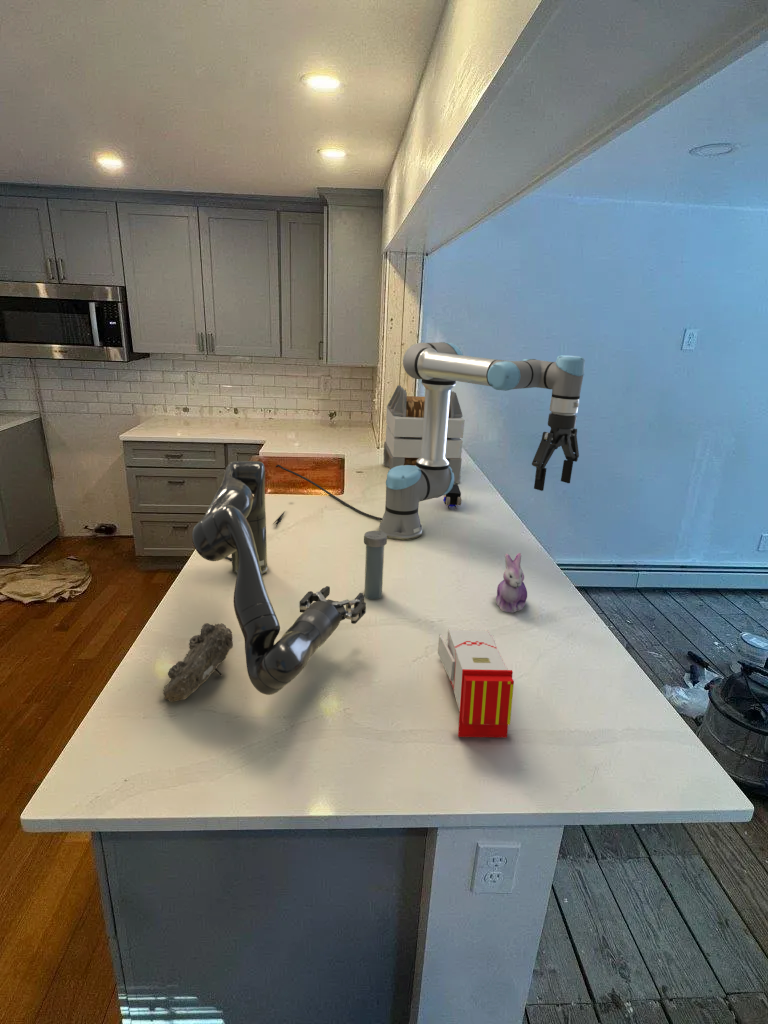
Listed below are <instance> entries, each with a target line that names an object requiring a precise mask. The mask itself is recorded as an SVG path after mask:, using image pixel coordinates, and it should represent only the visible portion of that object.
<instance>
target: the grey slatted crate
mask: <svg viewBox="0 0 768 1024" xmlns="http://www.w3.org/2000/svg"><path fill="white" fill-rule="evenodd" d="M407 394H408V393H407V390H406V389H404V388H403V387H402V385H399V384H398V385H397V386H396V388H395V390H394V392H393V394H392V395H391V398H390V400H389V402H388V404H387V405H386V413H385V414H386V415H385V423H386V428H385V438H384V442H383V466H384V467H388V468H389V470H390V469H392V468H394V467H396V466H401V465H404V466H405V465H413V466H416V461H417V459H418V458H420V457H421V449H422V434H423V419H424V404H425V396H415V395H414V396H413V395H412V396H411V395H407ZM464 429H465V419H464V418H463V411H462V408H461V405H460V402H459V398H458V395H457V392H455V391H453V390H451V392H450V404H449V416H448V428H447V441H446V453H445V458H446V459H447V461H448V462H449V466H450V467H451V469H452V473H454V484H459V483H461V472H462V461H463V460H462V453H463V442H464V441H463V440H462V439H463V438H464V431H465V430H464Z"/></svg>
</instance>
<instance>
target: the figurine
mask: <svg viewBox="0 0 768 1024" xmlns="http://www.w3.org/2000/svg"><path fill="white" fill-rule="evenodd" d="M511 557H512V556H511V555H509V553H505V555H504V559H505V560H504V561H505V569H504V571H503V580H502V581H500V582H499V583H498V585H497V589H496V597H495V603H496V606H497V607H499V609H500V610H501V611H502V612H505V613H512V614H513V613H517V612H519V611H522V610H523V609H524V608H525V605H526V602H527V599H528V590H527V586H526V584H525V582H524V580H525V574H524V571H523V569H522V567H521V562H522V561H521V560H522V553H521V552H518V553H516V554H515V557H514V559H512V558H511Z"/></svg>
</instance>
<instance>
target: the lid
mask: <svg viewBox="0 0 768 1024" xmlns="http://www.w3.org/2000/svg"><path fill="white" fill-rule="evenodd" d="M363 543H364V545H365V546H366V545H367V546H370V547H382V546H384V547H385V546H386V545H387V543H388V538H387V535H386V533H384V532H381V531H379V530H369V531H366V532H365V533H364V535H363Z"/></svg>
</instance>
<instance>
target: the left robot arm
mask: <svg viewBox="0 0 768 1024" xmlns="http://www.w3.org/2000/svg"><path fill="white" fill-rule="evenodd" d="M266 515H267V513H266V467H265V464H264V463H263V462H262V461H259V460H233V461H230V462H229V463H228V464H227V465H226V468H225V470H224V475H223V478H222V480H221V483H220V486H219V487H218V489H217V490H216V491H215V494H214V495H213V497H212V500H211V502H210V504H209V506H208V508H207V510H206V512H205V513H204V515H203V516H202V517H201V519H199V521H198V522H197V523H196V524H194V526H193V528H192V532H191V539H192V544H193V547H194V549H195V551H196V552H197V553H198V555H199V556H201V558H203V559H204V560H206V561H209V562H219V561H221V560H224V559H226V560H229V561H231V569H232V572H233V573H235V575H236V579H235V584H234V591H233V601H232V602H233V609H234V613H235V618H236V619H237V622H238V625H239V628H240V631H241V633H242V636H243V638H244V655H245V663H246V671H247V676H248V678H249V681H250V683H251V684H252V686H253V688H254V689H255V690H256V691H257V692H258V693H260V694H263V695H265V696H272V695H275V694H277V693H279V692H280V691H281V690H283V689H284V688H285V687H286V686H287V685H288V684H290V683H291V682H292V681H293V680H294V679H296V677H297V676H299V675H300V673H301V672H302V671H304V669H305V667H306V666H307V665H308V663H309V660H310V658H311V657H312V656H313V655H314V654H315V653H316V651H317V650H318V649H319V648H320V647H322V646H323V644H325V642H327V641H328V639H329V638H330V637H331V635H332V634H333V633H334V632H335V631H336V629H337V628H338V627H339V625H340V623H341V622H342V621H344V620H350V623H351V624H352V625H355V624H357V623H358V622H359V621H360V620H361V618H363V616H365V614H366V610H367V608H366V607H367V603H366V602H365V596H364V593H363V592H359V593H358V594H357V595H356V597H355V598H354V599H351V600H349V599H344V600H341V601H338V600H332V599H330V598H329V599H327V598H328V597H329V596H330V594H331V593H330V592H331V587H330V586H329V585H325V587H323V588H321V589H320V590H318V591H315V593H314V592H313V591H312V590H311V591H310V590H309V591H308V592H306V593H305V595H304V596H303V597H302V598H301V599H300V600H299V606H298V607H299V613H301V614H300V615H299V616H298V617H297V618H296V619H295V621H294V623H292V625H291V626H290V627H289V628H288V629H286V631H285V632H284V633H283V635H282V636H281V637H280V639H279V640H277V641H276V639H277V637H278V635H279V634H280V632H281V625H280V622H279V618H278V617H277V613H276V611H275V609H274V606H273V604H272V602H271V599H270V596H269V594H268V593H269V592H267V587H266V584H265V581H264V580H265V579H264V577H263V575H264V574H265V573H267V572H268V550H267V549H268V548H267V546H268V545H267V516H266ZM230 555H231V557H229V556H230ZM352 606H353V607H352ZM275 641H276V643H275Z"/></svg>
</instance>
